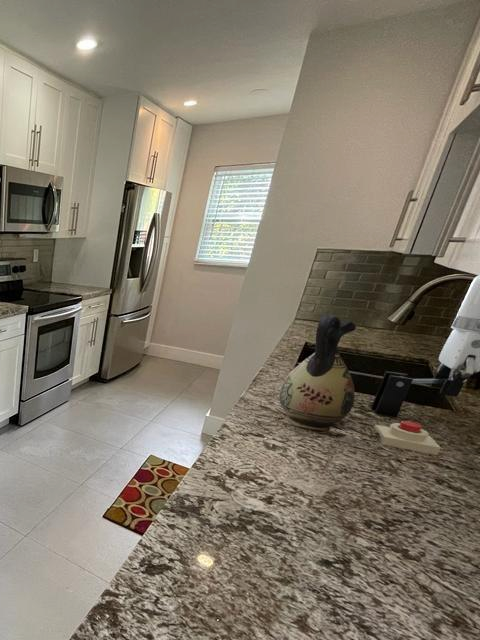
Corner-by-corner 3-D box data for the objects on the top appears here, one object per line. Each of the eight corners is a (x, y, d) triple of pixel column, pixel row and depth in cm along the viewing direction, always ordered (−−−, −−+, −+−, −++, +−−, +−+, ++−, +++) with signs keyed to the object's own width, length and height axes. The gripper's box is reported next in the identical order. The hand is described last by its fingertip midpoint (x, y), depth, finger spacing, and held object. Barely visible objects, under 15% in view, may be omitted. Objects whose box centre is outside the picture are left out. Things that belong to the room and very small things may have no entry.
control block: (424, 441, 104) (430, 427, 102) (437, 455, 97) (444, 440, 96) (372, 431, 109) (377, 418, 107) (381, 444, 102) (387, 430, 101)
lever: (448, 382, 110) (449, 373, 110) (457, 388, 106) (458, 379, 105) (385, 382, 117) (386, 374, 116) (392, 388, 112) (393, 380, 112)
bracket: (403, 415, 119) (422, 374, 114) (416, 428, 111) (436, 384, 106) (350, 406, 124) (365, 366, 120) (358, 418, 116) (375, 376, 112)
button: (416, 429, 102) (418, 422, 102) (421, 434, 99) (424, 428, 99) (396, 425, 104) (399, 419, 103) (401, 431, 101) (404, 424, 100)
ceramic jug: (291, 408, 122) (324, 308, 112) (354, 430, 109) (398, 319, 98) (256, 417, 116) (287, 312, 105) (318, 442, 103) (361, 325, 92)
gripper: (517, 334, 94) (478, 405, 101) (480, 320, 108) (448, 384, 114) (470, 329, 98) (436, 398, 104) (440, 317, 111) (412, 379, 118)
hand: (443, 390), depth 109 cm, fingers closed on lever, 5 cm apart
